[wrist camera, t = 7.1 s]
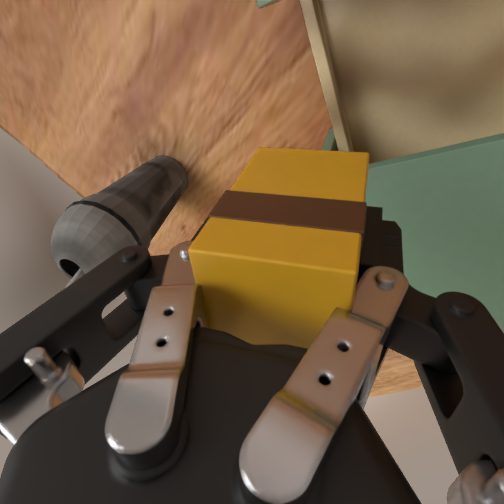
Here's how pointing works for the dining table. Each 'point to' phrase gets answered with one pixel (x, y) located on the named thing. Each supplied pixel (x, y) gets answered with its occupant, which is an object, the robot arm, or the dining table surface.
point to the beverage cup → (117, 216)
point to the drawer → (408, 71)
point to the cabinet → (447, 216)
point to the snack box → (283, 245)
